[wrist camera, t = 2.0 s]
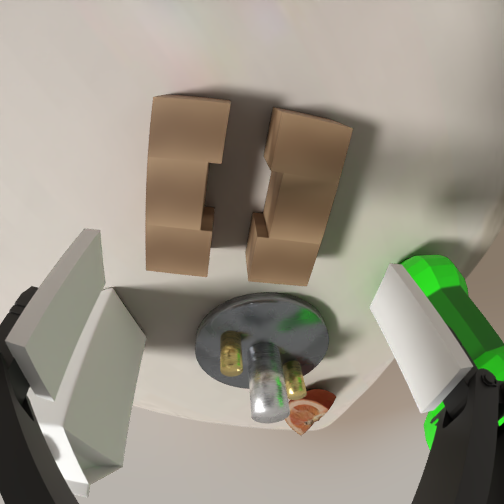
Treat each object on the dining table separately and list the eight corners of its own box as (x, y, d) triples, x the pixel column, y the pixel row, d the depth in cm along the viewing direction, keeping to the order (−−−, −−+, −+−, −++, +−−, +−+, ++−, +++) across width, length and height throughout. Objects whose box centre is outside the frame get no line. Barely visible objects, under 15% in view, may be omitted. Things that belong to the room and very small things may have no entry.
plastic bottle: (374, 237, 26) (527, 506, 4) (456, 237, 26) (599, 424, 5) (352, 319, 31) (431, 542, 10) (428, 309, 32) (520, 485, 10)
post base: (200, 285, 27) (192, 365, 19) (343, 297, 29) (374, 368, 21) (193, 375, 34) (190, 440, 27) (304, 379, 36) (317, 440, 29)
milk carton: (147, 336, 30) (118, 509, 14) (97, 345, 31) (57, 495, 15) (113, 285, 26) (49, 478, 10) (63, 300, 27) (-5, 460, 11)
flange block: (166, 94, 18) (153, 96, 15) (332, 119, 20) (353, 128, 17) (156, 242, 24) (146, 270, 21) (296, 257, 26) (306, 286, 23)
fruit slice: (313, 409, 41) (319, 436, 37) (273, 407, 40) (277, 436, 36) (340, 379, 37) (350, 409, 33) (296, 376, 36) (303, 409, 32)
